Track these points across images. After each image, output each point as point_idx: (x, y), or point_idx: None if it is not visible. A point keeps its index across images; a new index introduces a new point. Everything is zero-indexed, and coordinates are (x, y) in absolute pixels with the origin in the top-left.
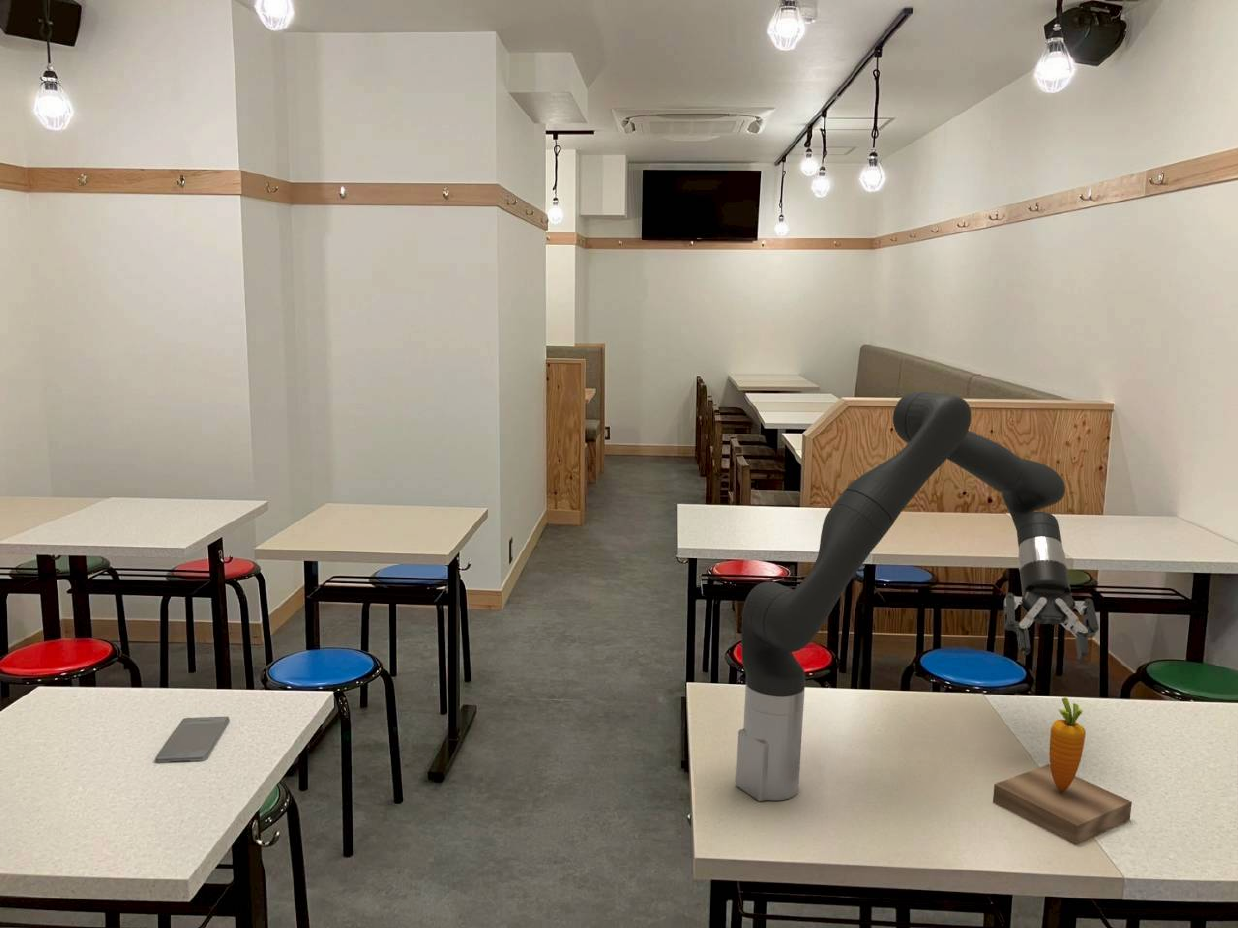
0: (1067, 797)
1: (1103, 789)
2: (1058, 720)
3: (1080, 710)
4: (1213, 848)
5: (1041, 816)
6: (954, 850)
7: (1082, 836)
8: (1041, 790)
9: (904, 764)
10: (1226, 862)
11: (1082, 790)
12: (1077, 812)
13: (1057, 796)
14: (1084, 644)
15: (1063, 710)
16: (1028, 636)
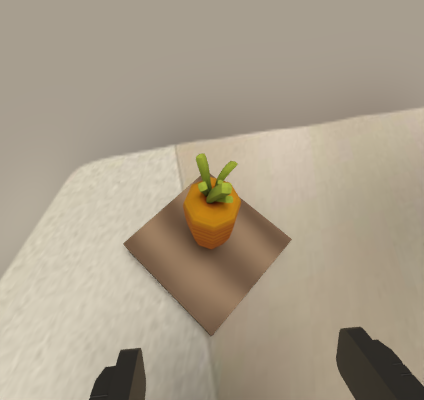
0: None
1: (150, 268)
2: (229, 209)
3: (201, 154)
4: (59, 214)
5: None
6: (315, 146)
7: None
8: (234, 240)
9: (407, 322)
10: (61, 190)
11: (180, 256)
12: None
13: None
14: (110, 391)
15: (231, 161)
16: (385, 379)
